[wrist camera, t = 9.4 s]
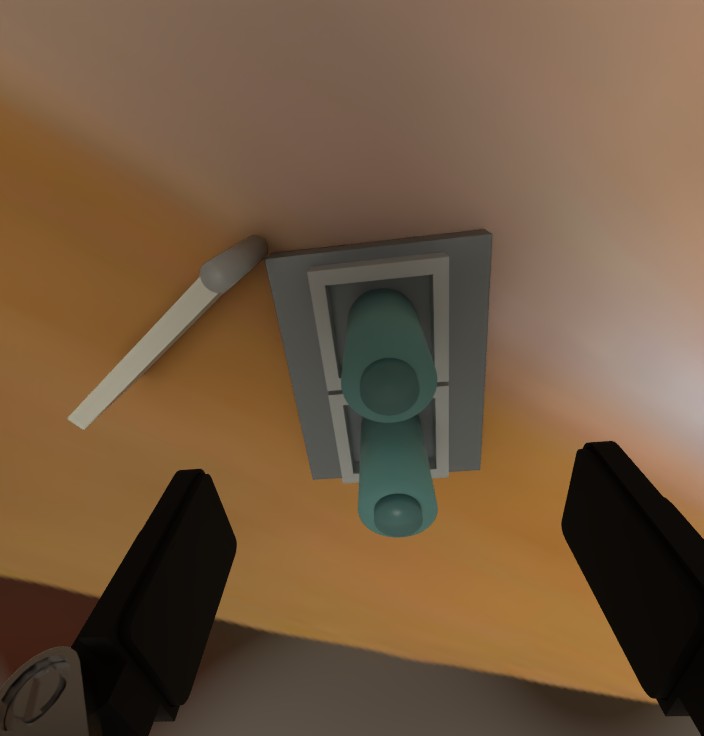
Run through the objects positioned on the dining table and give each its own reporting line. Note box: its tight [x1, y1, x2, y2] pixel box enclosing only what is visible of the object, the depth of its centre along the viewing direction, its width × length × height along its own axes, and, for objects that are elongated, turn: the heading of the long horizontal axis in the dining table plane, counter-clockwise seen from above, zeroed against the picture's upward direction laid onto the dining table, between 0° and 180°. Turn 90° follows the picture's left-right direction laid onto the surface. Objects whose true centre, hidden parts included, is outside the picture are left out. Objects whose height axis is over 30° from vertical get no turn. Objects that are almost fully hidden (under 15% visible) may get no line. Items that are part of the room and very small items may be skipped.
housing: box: [265, 229, 492, 483], centre depth 24 cm, size 16×12×3 cm
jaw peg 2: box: [358, 415, 438, 537], centre depth 22 cm, size 4×4×8 cm
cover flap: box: [67, 235, 268, 430], centre depth 21 cm, size 13×1×6 cm, turn 132°
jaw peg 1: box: [341, 288, 437, 423], centre depth 19 cm, size 4×4×8 cm
